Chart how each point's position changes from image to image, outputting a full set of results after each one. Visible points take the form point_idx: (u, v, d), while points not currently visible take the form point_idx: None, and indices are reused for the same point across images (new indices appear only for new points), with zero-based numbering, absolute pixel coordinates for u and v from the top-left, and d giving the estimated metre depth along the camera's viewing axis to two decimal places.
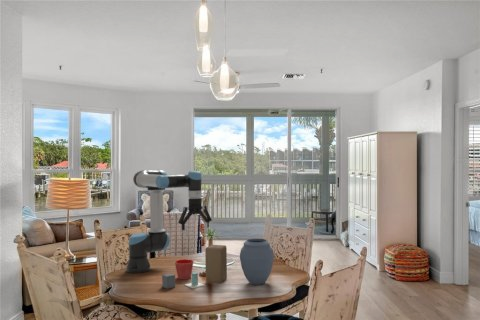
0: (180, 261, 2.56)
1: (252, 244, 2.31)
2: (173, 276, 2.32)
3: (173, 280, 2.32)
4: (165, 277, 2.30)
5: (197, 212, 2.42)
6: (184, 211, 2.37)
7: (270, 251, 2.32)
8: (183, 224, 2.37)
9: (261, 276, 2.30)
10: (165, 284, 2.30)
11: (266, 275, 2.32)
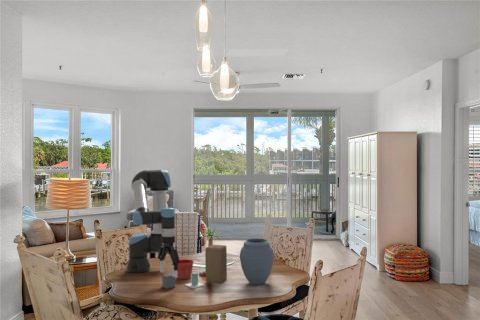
0: (180, 261, 2.56)
1: (252, 244, 2.31)
2: None
3: (173, 280, 2.32)
4: (165, 277, 2.30)
5: (167, 251, 2.31)
6: None
7: (270, 251, 2.32)
8: None
9: (261, 276, 2.30)
10: (165, 284, 2.30)
11: (266, 275, 2.32)
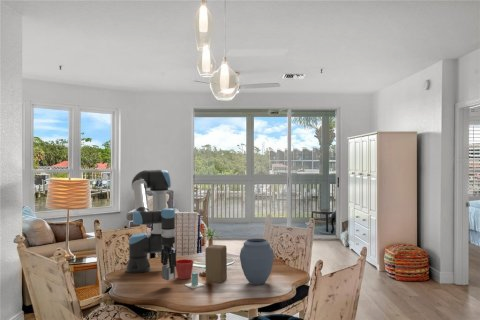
0: (180, 261, 2.56)
1: (252, 244, 2.31)
2: None
3: None
4: (165, 269, 2.31)
5: None
6: None
7: (270, 251, 2.32)
8: None
9: (261, 276, 2.30)
10: (165, 276, 2.31)
11: (266, 275, 2.32)
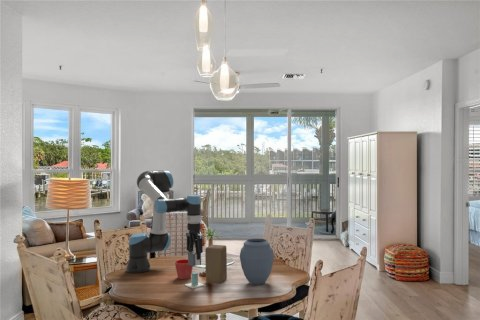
0: (180, 261, 2.56)
1: (252, 244, 2.31)
2: None
3: None
4: (191, 255, 2.32)
5: None
6: (187, 237, 2.39)
7: (270, 251, 2.32)
8: None
9: (261, 276, 2.30)
10: (191, 262, 2.32)
11: (266, 275, 2.32)
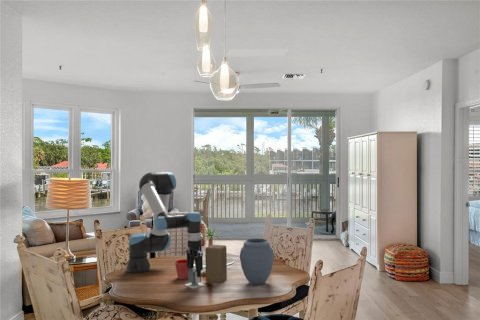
0: (180, 261, 2.56)
1: (252, 244, 2.31)
2: None
3: None
4: (191, 272, 2.32)
5: None
6: (187, 254, 2.39)
7: (270, 251, 2.32)
8: (189, 268, 2.37)
9: (261, 276, 2.30)
10: (191, 279, 2.32)
11: (266, 275, 2.32)
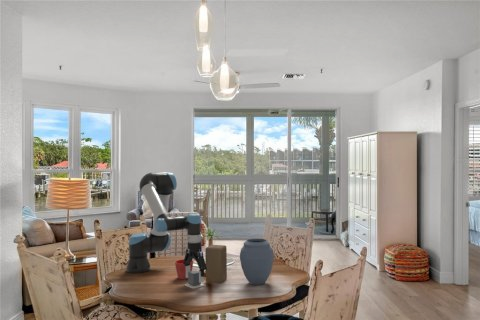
0: (180, 261, 2.56)
1: (252, 244, 2.31)
2: None
3: None
4: (191, 274, 2.32)
5: (193, 257, 2.33)
6: (186, 253, 2.39)
7: (270, 251, 2.32)
8: (185, 265, 2.40)
9: (261, 276, 2.30)
10: (191, 281, 2.32)
11: (266, 275, 2.32)
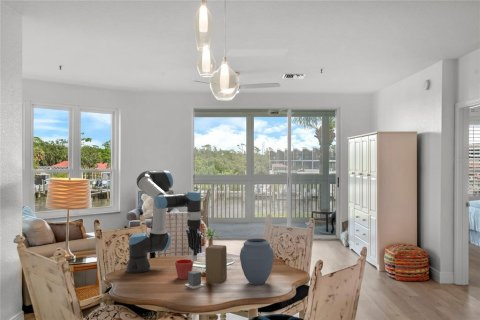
0: (180, 261, 2.56)
1: (252, 244, 2.31)
2: (199, 273, 2.33)
3: (199, 277, 2.33)
4: (191, 274, 2.32)
5: None
6: None
7: (270, 251, 2.32)
8: (191, 249, 2.35)
9: (261, 276, 2.30)
10: (191, 281, 2.32)
11: (266, 275, 2.32)
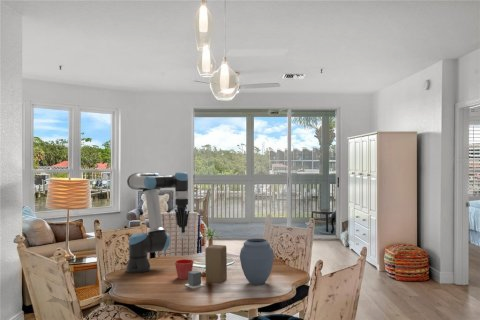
0: (180, 261, 2.56)
1: (252, 244, 2.31)
2: (199, 273, 2.33)
3: (199, 277, 2.33)
4: (191, 274, 2.32)
5: None
6: (176, 213, 2.52)
7: (270, 251, 2.32)
8: (179, 226, 2.48)
9: (261, 276, 2.30)
10: (191, 281, 2.32)
11: (266, 275, 2.32)
